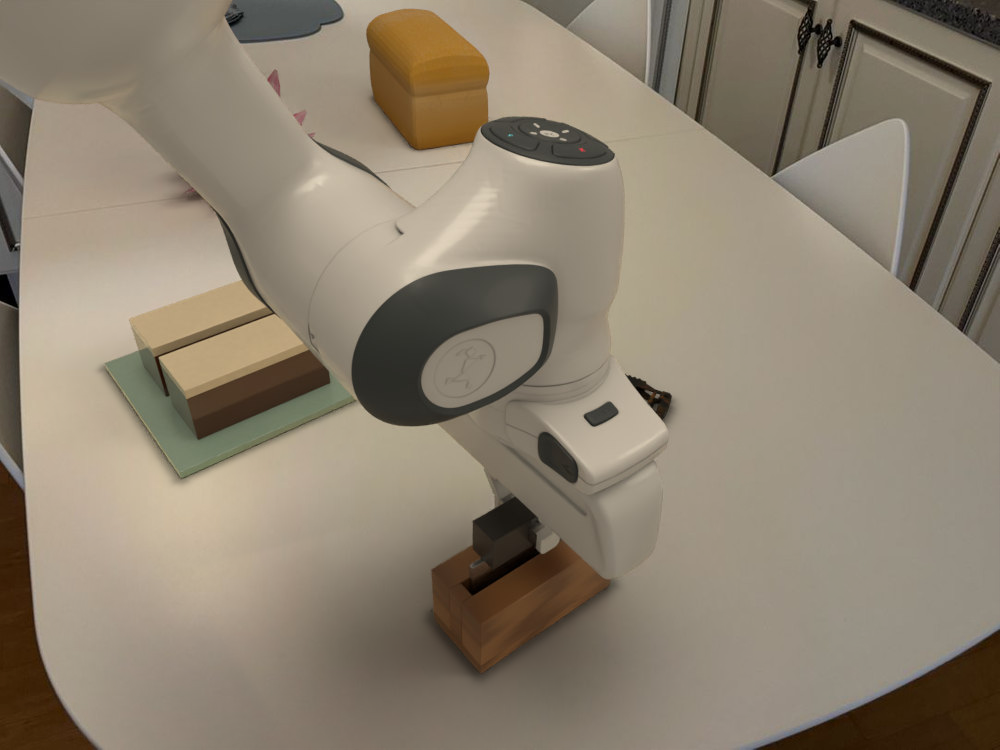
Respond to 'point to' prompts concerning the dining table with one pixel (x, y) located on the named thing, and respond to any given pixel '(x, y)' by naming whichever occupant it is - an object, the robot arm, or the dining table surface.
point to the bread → (427, 78)
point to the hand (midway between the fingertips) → (526, 528)
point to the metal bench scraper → (501, 543)
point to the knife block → (509, 601)
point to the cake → (221, 377)
